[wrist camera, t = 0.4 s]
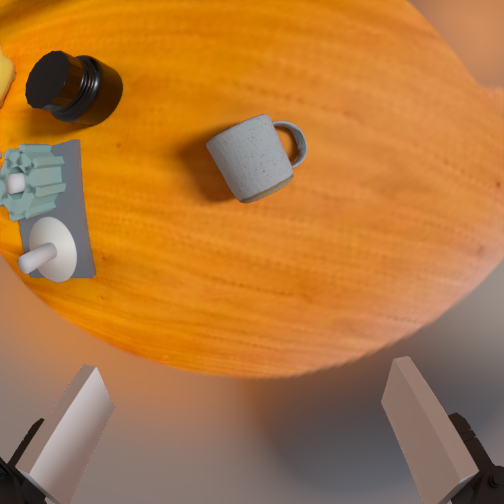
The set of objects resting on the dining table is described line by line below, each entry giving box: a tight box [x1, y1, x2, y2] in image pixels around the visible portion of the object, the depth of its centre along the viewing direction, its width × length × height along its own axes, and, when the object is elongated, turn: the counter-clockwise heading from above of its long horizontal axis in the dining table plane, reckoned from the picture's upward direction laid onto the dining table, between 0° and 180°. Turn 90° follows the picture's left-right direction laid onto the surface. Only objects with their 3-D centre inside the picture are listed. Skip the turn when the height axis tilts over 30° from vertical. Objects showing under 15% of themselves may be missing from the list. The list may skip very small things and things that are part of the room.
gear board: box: [0, 139, 96, 282], centre depth 32 cm, size 21×14×8 cm, turn 2°
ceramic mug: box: [206, 114, 307, 203], centre depth 31 cm, size 11×8×8 cm
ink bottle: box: [25, 51, 123, 125], centre depth 26 cm, size 10×9×12 cm
